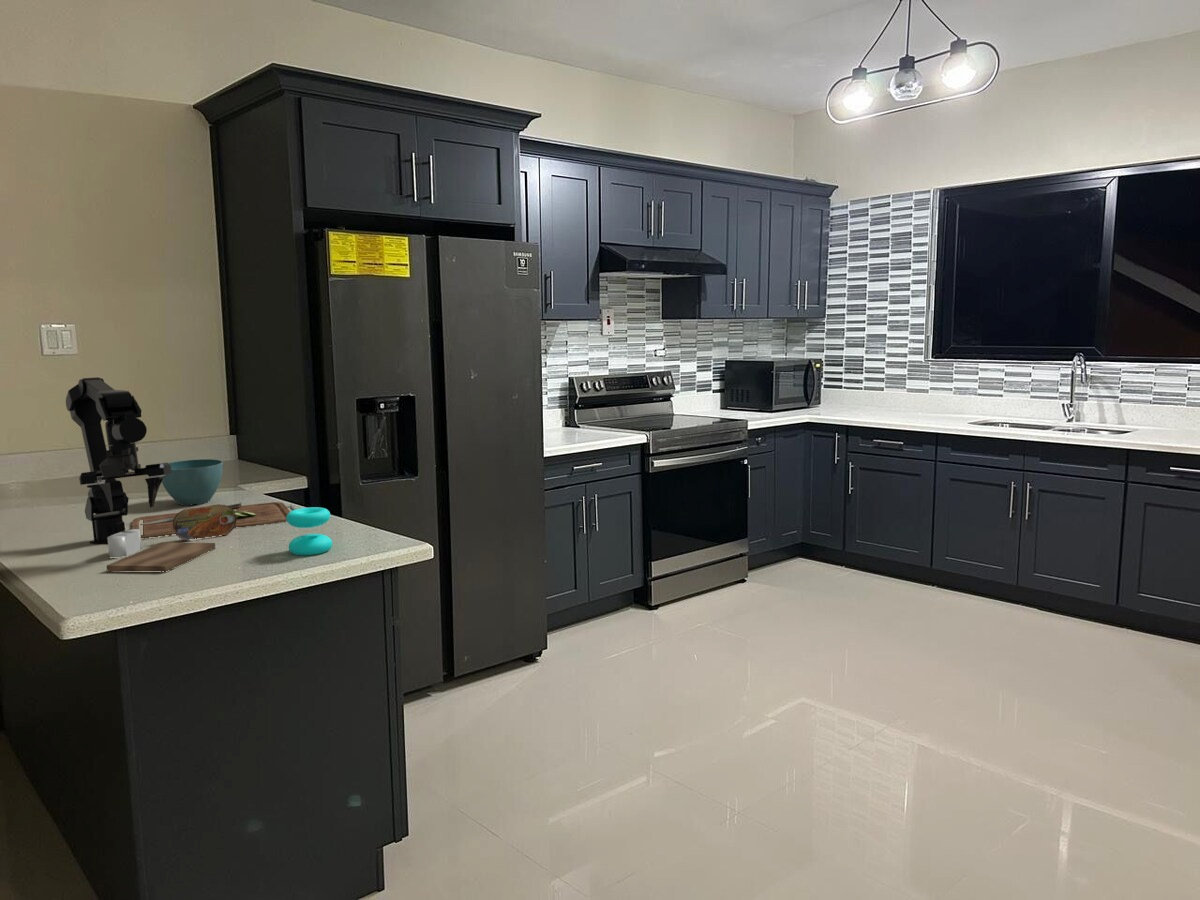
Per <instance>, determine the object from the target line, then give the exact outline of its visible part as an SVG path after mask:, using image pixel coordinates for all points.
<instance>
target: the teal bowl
mask: <svg viewBox="0 0 1200 900" xmlns="http://www.w3.org/2000/svg"><path fill="white" fill-rule="evenodd" d="M168 463H169V464H170V466H171V470H172V473H171V474H165V476H167V478H163V479H162V482H161V484H162V485H163V487H164V489H165V491H166V492H167V493H168V495H169V496H170V498H172V499H173V500H174V501H175V502H176V503H177V504H178V505H180V504H183V505H182V506H192V505H191V504H198V505H202V503H203V504H206V502H207V503H208V501H209V502H210V500H212V498H213V497H214V495H215V493H216V492H217V490H218V488H219V486H220V483H221V481H222V476H223V467H224V466H223V465H224V463H223V460H221V459H213V458H203V459H200V458H197V459H185V460H179V461H178V460H177V461H173V462H168Z"/></svg>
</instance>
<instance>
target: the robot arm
mask: <svg viewBox="0 0 1200 900" xmlns="http://www.w3.org/2000/svg"><path fill="white" fill-rule="evenodd" d="M65 405H66V410H67V411H68V412H69V413H70V417H71V420H72V421H73V422H75V424H77V425H78V426H79V427H80V429H81V434H82V438H83V443H84V448H85V453H86V457H87V461H88V466H89V470H90V471H85V472H81V474H80V475H79V485H80V486H82V485H83V486H84V485H86V487H87V488H88V492H87V495H88V497H87V498H86V503H85V508H84V515H85V518H86V520H88V521H90V522H91V523H92V525H91V526H92V532H93V534H92V535H93V539H92V540H89V543H90V544H108V539H107V537H109V536H111V535H114V534H117V533H119V532H122V531H125V530H126V528H125V525H124V523H125V521H124V520H123V516H128V514H129V497H128V496H127V493H126V492H125V491H124V488H123V483H122V481H121V480H117V479H122V478H123V479H124V478H130V477H140V476H148V478H145V482H146V484H147V493H148V494H147V495H148V496H147V497H148V504H149V507H150V508H153V507H154V505H155V502H156V498H157V496H158V491H159V489H160V486H161V484H162V479H163V478H167V476H165V474H171V473H172V470H171V466H170V464H169V463H170V462H161V463H153V464H151V463H150V464H146V465H145V466H144V467H142V466H141V463H139V460H138V453H137V452H139V447H138V446H136V445H137V444H136V443H138V442H140V441H142V440H143V439H144V438H145V436H146V435H147V432H148V431H147V429H148V428H147V426H146V424H145V422H144V421H143V420H141V419H140V418H142V409H141V407H140V405H139V403H138V401H137V400H136V399H135V397H134V395H132V394H131V392H130V391H129V390H124V389H119V390H118V389H114V388H113V387H112V386H110V385H109V384H107V383H106V382H105V381H104V379H103V378H102V377H84V378H81V379H78V383H77V384H75V385H74V386H73V387H71V388H70V389H69V390H68V391H67V394H66V397H65ZM102 420H103V422H104V421H105V425H104V428H105V435H106V440H105V436H104V431H103V428H102V426H103V425H102V423H101V422H102ZM106 442H107V446H106ZM130 470H131V471H130Z"/></svg>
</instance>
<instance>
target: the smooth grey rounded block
mask: <svg viewBox="0 0 1200 900" xmlns="http://www.w3.org/2000/svg"><path fill="white" fill-rule="evenodd" d="M107 539H108V543H107V547H108V555H109V556H110V557H122V556H127V555H129V554H132V553H134V552H136V551H138V550H141V549H142V550H143V545H142V540H141V536H140V530H139V529H125V531H122V532H119V533H117V534H114V535H111V536H109V537H107ZM132 555H133V554H132ZM110 557H109V558H110Z"/></svg>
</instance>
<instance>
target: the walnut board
mask: <svg viewBox="0 0 1200 900" xmlns="http://www.w3.org/2000/svg"><path fill="white" fill-rule="evenodd" d="M213 549H214V550H216V542H159V543H157V544H155V545H153V546H150V547H147V548H145V549H142V551H140V552H137V553H135V554H132V555H130V556H128V557H125V558H120V559H117V560H116V561H114V562H112V563H110V564H107V565H106V571H107V570H108V571H161V572H162V571H164V572H166V571H168V570H170V569H172V568H174V567H177V566H179V565H181V564H183V563H185V562H187V561H189V560H191V559H193V560H195V559H197V558H196V557H198V556H200V555H202V554H204V553H206V554H208V553H209V552H208V551H210V552H212V551H214V550H213ZM211 550H212V551H211ZM207 552H208V553H207ZM204 555H205V554H204ZM202 556H203V555H202ZM200 557H201V556H200ZM194 558H195V559H194ZM198 558H199V557H198ZM191 561H192V560H191ZM189 562H190V561H189ZM187 563H188V562H187ZM185 564H186V563H185ZM183 565H184V564H183ZM181 566H182V565H181ZM179 567H180V566H179ZM177 568H178V567H177ZM170 571H171V570H170ZM168 572H169V571H168ZM166 573H167V572H166Z"/></svg>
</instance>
